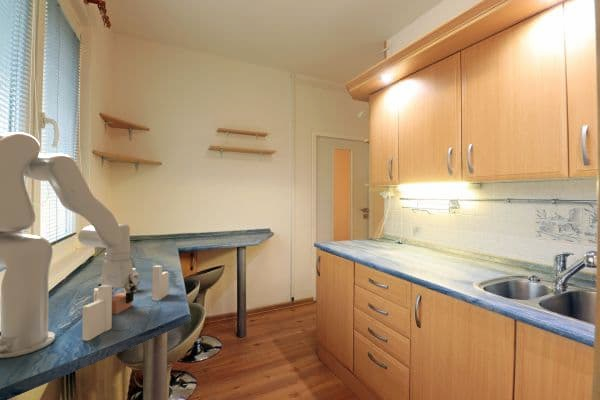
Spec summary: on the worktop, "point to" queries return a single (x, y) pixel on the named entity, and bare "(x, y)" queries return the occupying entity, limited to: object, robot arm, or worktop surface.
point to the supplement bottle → (133, 282)
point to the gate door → (95, 294)
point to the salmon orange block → (119, 303)
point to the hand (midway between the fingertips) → (118, 301)
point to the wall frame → (100, 311)
